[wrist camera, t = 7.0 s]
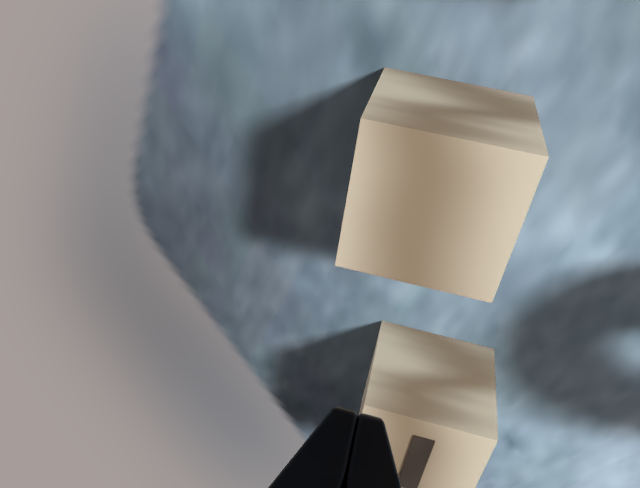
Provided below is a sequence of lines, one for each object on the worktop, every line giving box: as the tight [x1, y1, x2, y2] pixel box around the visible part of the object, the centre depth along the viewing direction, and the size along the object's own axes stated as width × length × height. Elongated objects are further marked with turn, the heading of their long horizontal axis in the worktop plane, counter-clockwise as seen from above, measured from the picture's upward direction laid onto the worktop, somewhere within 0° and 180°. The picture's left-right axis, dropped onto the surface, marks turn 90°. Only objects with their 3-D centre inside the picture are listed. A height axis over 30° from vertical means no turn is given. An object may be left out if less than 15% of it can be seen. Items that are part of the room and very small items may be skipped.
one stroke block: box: [359, 321, 498, 488], centre depth 24 cm, size 5×5×5 cm
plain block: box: [335, 67, 549, 303], centre depth 18 cm, size 5×5×5 cm
